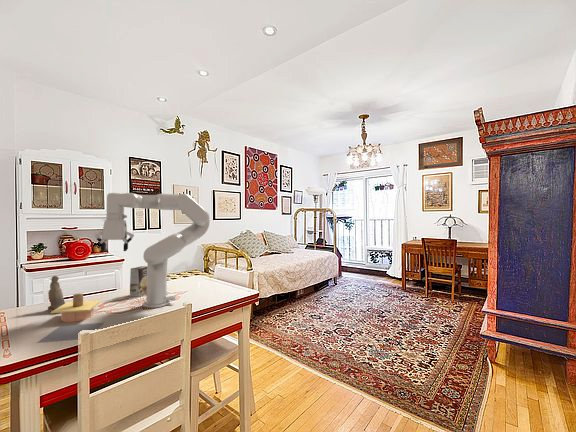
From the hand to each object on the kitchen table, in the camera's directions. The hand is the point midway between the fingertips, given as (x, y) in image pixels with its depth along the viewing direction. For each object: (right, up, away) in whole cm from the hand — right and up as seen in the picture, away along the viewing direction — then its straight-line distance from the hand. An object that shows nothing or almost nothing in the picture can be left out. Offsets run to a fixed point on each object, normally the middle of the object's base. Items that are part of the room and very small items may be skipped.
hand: (114, 251), depth 141 cm
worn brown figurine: (-23, -28, -7) cm, 37 cm away
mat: (+4, -28, -32) cm, 43 cm away
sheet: (-6, -23, -16) cm, 29 cm away
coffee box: (+1, -29, +23) cm, 37 cm away
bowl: (-6, -28, -16) cm, 33 cm away
